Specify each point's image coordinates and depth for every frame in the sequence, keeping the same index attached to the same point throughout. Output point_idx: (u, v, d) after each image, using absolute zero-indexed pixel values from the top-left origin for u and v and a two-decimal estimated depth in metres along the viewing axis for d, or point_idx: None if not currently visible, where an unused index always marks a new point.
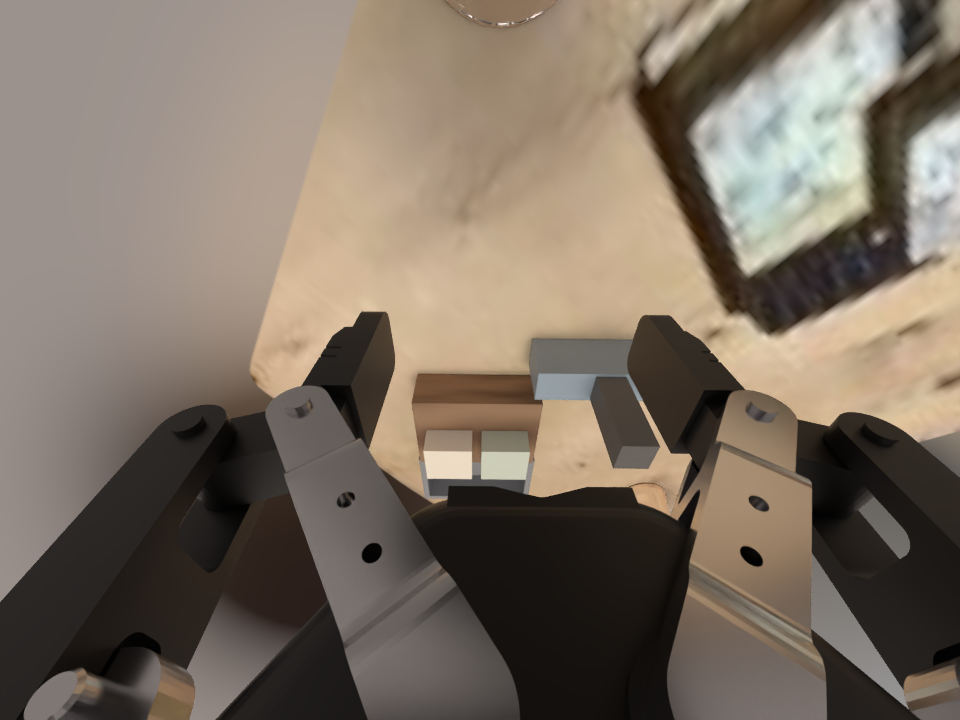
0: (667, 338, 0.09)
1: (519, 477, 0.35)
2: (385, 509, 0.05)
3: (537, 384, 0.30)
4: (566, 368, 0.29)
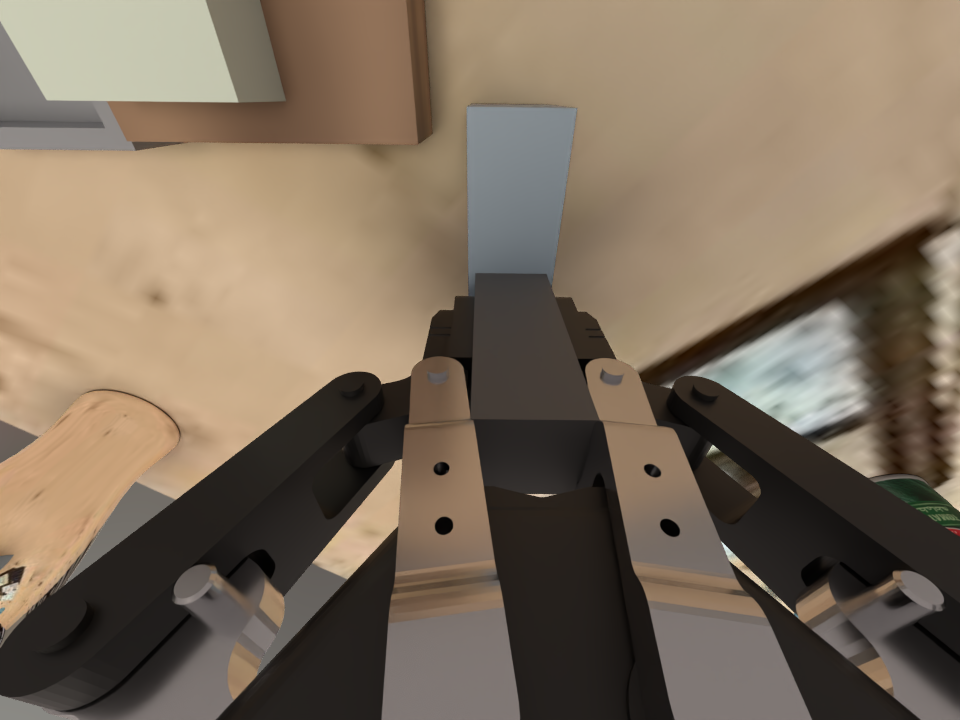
0: None
1: (42, 64, 0.08)
2: (469, 493, 0.05)
3: (530, 109, 0.10)
4: None
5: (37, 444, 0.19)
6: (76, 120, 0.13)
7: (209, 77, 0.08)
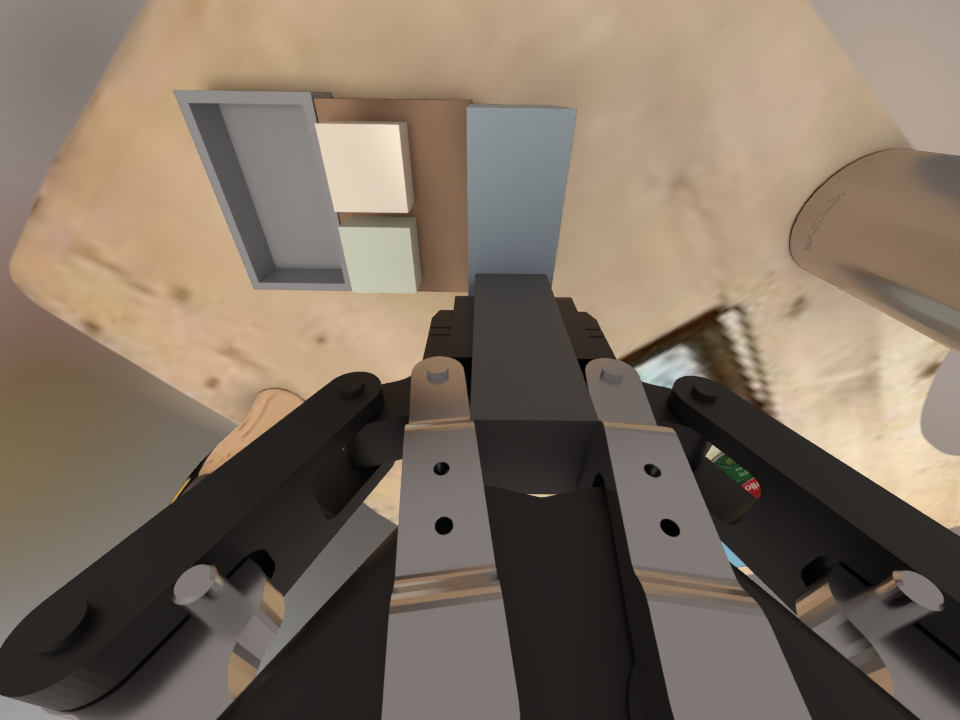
0: None
1: (356, 284, 0.24)
2: (469, 493, 0.05)
3: (529, 110, 0.10)
4: None
5: (253, 417, 0.36)
6: (313, 268, 0.30)
7: (409, 287, 0.24)
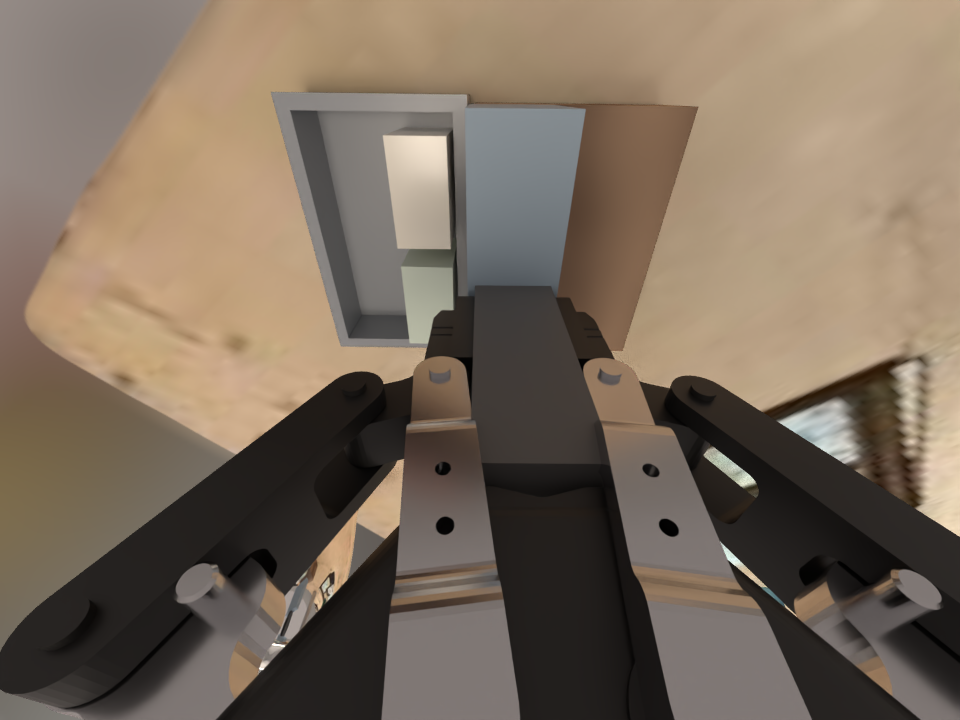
0: None
1: None
2: (470, 493, 0.05)
3: (534, 111, 0.09)
4: None
5: None
6: None
7: None
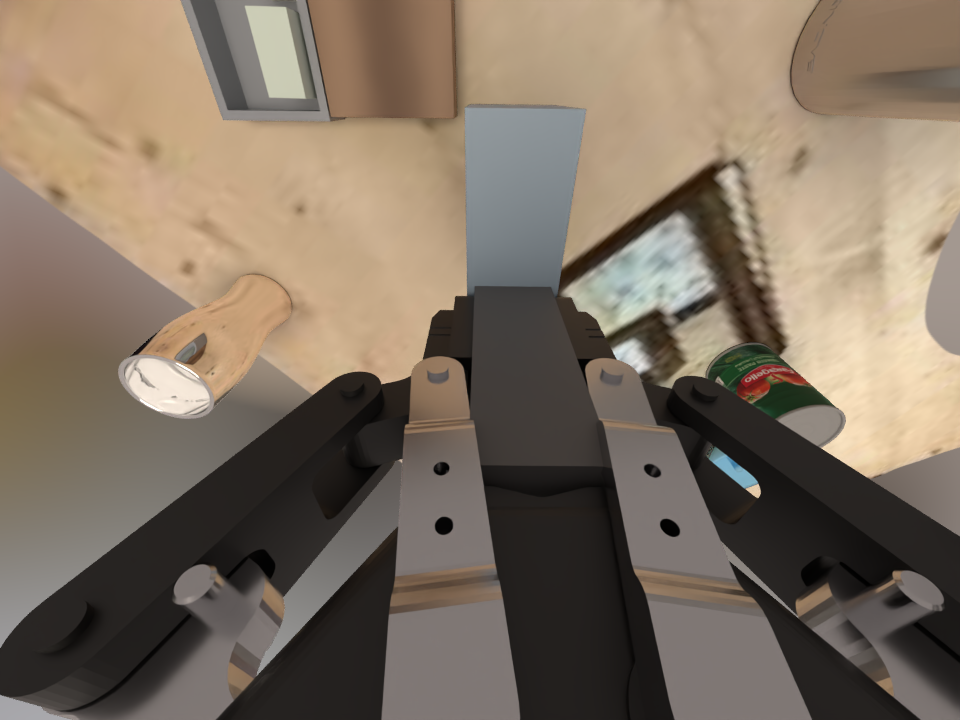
0: None
1: None
2: (469, 493, 0.05)
3: (534, 111, 0.09)
4: None
5: (229, 294, 0.34)
6: (288, 109, 0.28)
7: None
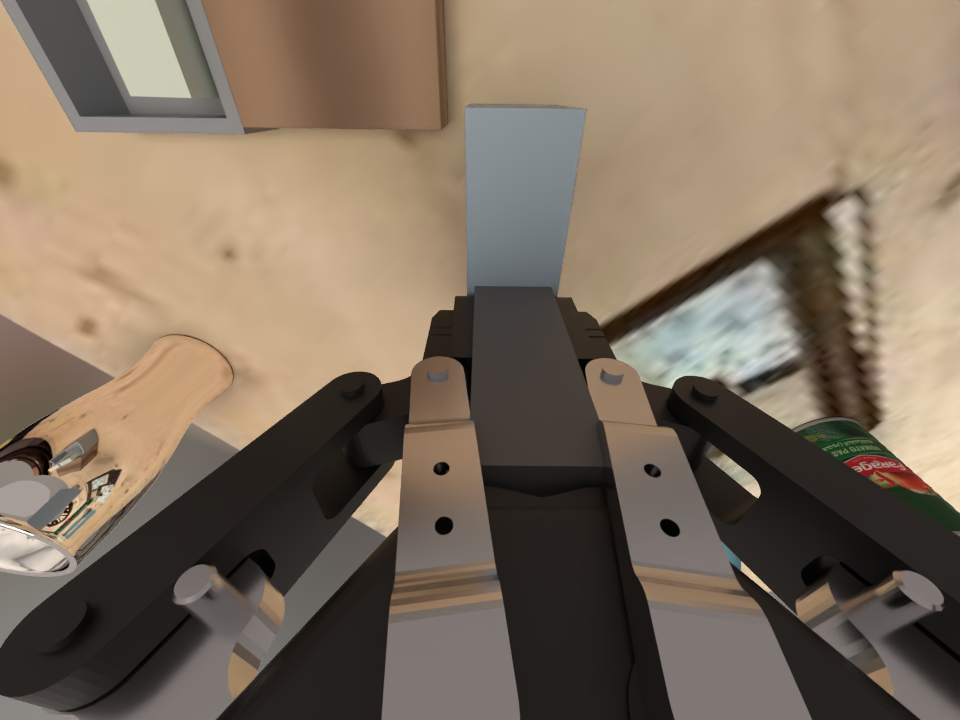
0: None
1: None
2: (468, 493, 0.05)
3: (534, 111, 0.09)
4: None
5: (132, 370, 0.25)
6: (191, 113, 0.19)
7: None
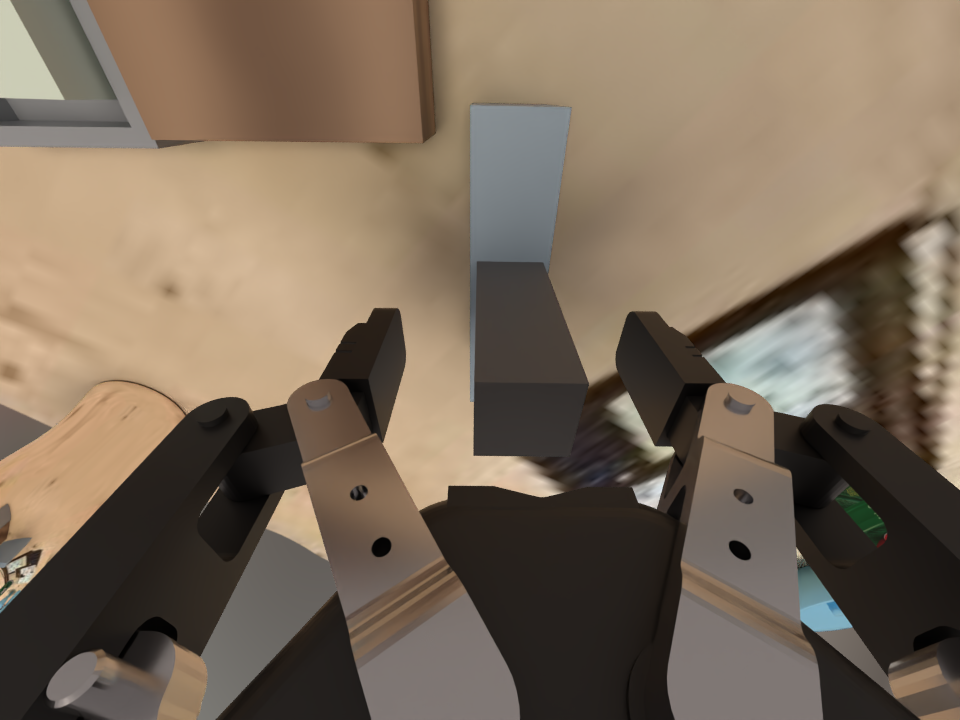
0: (652, 333, 0.10)
1: None
2: (396, 505, 0.05)
3: (528, 108, 0.10)
4: None
5: (54, 431, 0.20)
6: (99, 120, 0.14)
7: None
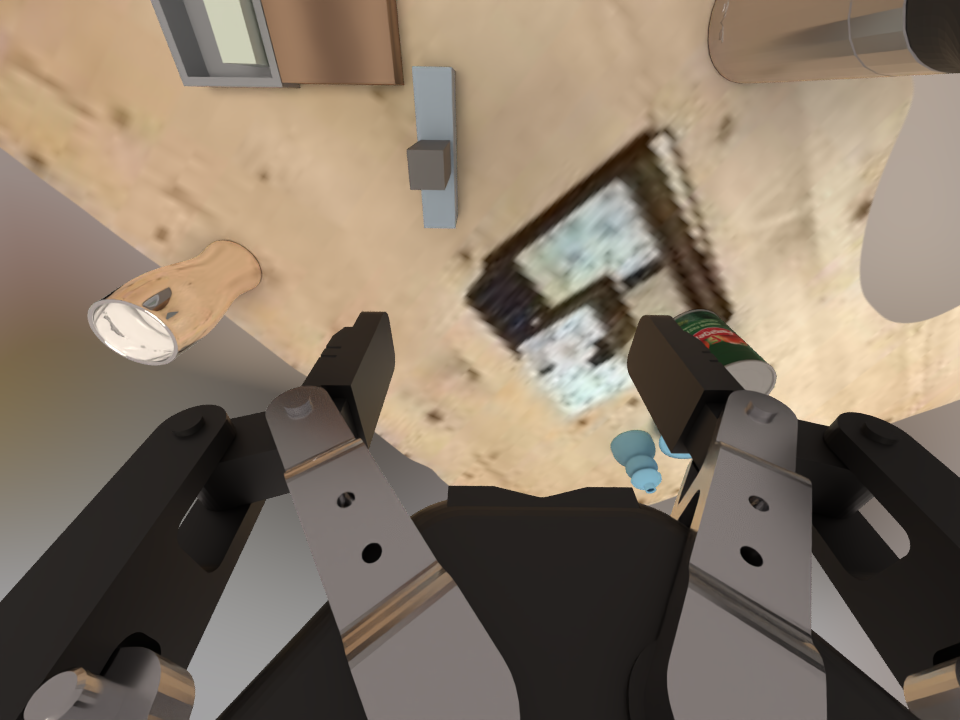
0: (667, 338, 0.09)
1: None
2: (385, 509, 0.05)
3: (434, 67, 0.27)
4: (452, 105, 0.29)
5: (198, 256, 0.37)
6: None
7: None
